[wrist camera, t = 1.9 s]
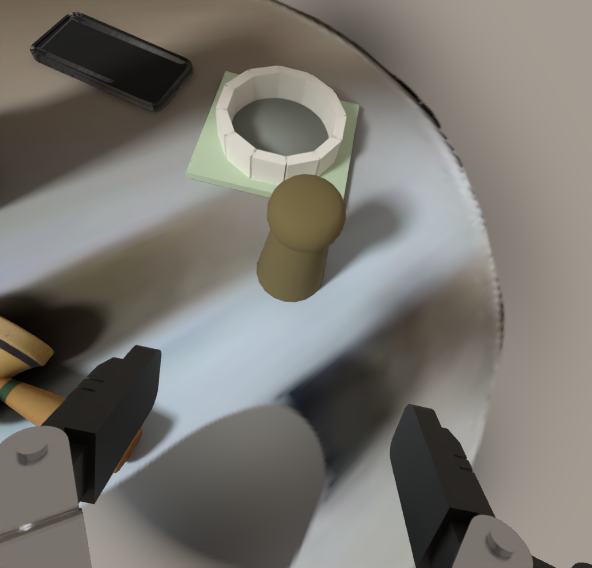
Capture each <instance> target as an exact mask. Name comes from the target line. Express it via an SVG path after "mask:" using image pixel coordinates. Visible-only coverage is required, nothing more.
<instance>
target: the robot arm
mask: <svg viewBox="0 0 592 568" xmlns="http://www.w3.org/2000/svg"><path fill="white" fill-rule="evenodd" d="M160 363H161V351H160V350H158V349H153V348H148V347H144V346H139V345H135V346H134V347H133V348H132V349H131V350H130V352H129V353H128V354H127V355H126V356H125V357H124V358H123V359H120V358H115V357H113V358H111V359H109V360H107V361H106V362H104V363H102V364H100V365H98V366H97V367H96V368H95V369H94V370H93V371H92V372H91V373H90V374H89V375H88V376H87V379H84V380H83V382H82V383H81V384H80V385H79V386H78V388H77V389H75V390H74V391H73V392H72V393H71V394H70V395H69V396H68V397H67V398H66V399H65V400H64V401H63V403H62V404H61V405H60V406H59V407H58V408H57V409H56V410H55V411H54V412H53V413H52V414H51V415H50V416H49V417H48V418H47V419H46V420H45V421H44V422H43V423H42V425H41V426H36V427H31V428H27V429H24V430H21V431H19V432H17V433H15V434H13V435H11V436H9V437H8V438H6V439H5V440H4V441H3V442H2V443H1V444H0V568H92V567H91V560H90V555H89V548H88V541H87V535H86V529H85V523H84V517H83V512H82V509H81V508H79V505H78V504H79V502H80V501H81V502H86V503H91V504H95V502H96V501H97V499H98V497H99V496H100V494H101V492H102V491H103V489H104V487H105V486H106V484H107V482H108V481H109V479H110V477H111V476H112V474H113V472H114V471H115V469H116V467H117V466H118V464H119V462H120V461H121V459H122V457H123V456H124V454H125V452H126V451H127V449H128V447H129V446H130V444H131V442H132V441H133V439H134V437H135V436H136V434H137V432H138V431H139V429H140V427H141V426H142V424H143V422H144V421H145V419H146V418H147V416H148V414H149V413H150V411H151V409H152V407H153V405H154V402H155V399H156V396H157V392H158V384H159V374H160ZM390 460H391V464H392V469H393V473H394V477H395V481H396V486H397V490H398V494H399V498H400V502H401V507H402V511H403V515H404V519H405V524H406V528H407V532H408V536H409V541H410V545H411V549H412V553H413V558H414V562H415V566H416V568H555V567H553V566H551V565H549V564H547V563H545V562H543V561H541V560H539V559H537V558H535V557H534V556H532V555H531V553H530V551H529V549H528V547H527V546H526V544H525V542H524V541H523V540H522V539H521V537H520V536H519V535H518V534H517V533H516V532H515V531H514V530H513V529H512V528H511V527H509V526H508V525H507V524H505V523H503V522H502V521H501V520H499V519H497V518H495V516H494V513H493V511H492V509H491V507H490V505H489V503H488V501H487V499H486V497H485V495H484V492H483V491H482V488H481V486H480V484H479V482H478V480H477V478H476V476H475V474H474V473H473V472H472V467H471V465H470V463H469V461H468V460H467V457H466V455H465V453H464V451H463V448H462V446H461V444H460V442H459V441H458V440H457V439H456V438H455V437H454V436H453V434H452V433H451V432H450V431H449V430H448V429H446V428H442V427H441V425H440V422H439V420H438V418H437V416H436V413H435V411H434V410H433V409H430V408H425V407H421V406H416V405H411V404H408V405H407V406H406V408H405V410H404V412H403V414H402V417H401V419H400V422H399V424H398V426H397V429H396V431H395V434H394V436H393V438H392V441H391V446H390ZM572 568H592V565H591V564H588V563H577V564H575V565H574V566H573V567H572Z"/></svg>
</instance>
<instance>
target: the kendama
mask: <svg viewBox="0 0 592 568" xmlns="http://www.w3.org/2000/svg"><path fill="white" fill-rule="evenodd" d="M53 354H54V351H53V349H52V348H51V347H50V346H48V345H47V344H46V343H44V342H43V341H41V340H40V339H38V338H37V337H36V336H34V335H32V334H31V333H29V332H27V331H26V330H24V329H23V328H21V327H19V326H18V325H16V324H14V323H12V322H10V321H9V320H6V319H5V318H3V317H1V316H0V400H1V401H3V403H5V404H7V405H8V406H9V407H11V408H12V409H13V410H15V411H16V412H18V413H19V414H20V415H22V416H23V417H24V418H26V419H27V420H29V421H30V422H32V423H33V424H35V425H36V426H41V425H42V423H43V422H44V421H45V420H46V419H47V418H48V417H49V416H50V415H51V414H52V413H53V412H54V411H55V410H56V409H57V408H58V407H59V406H60V405H61V404H62V403H63V401H64V400H65V399H66V398H65V397H63V396H60V395H58V394H55V393H52V392H49V391H47V390H44V389H41V388H38V387H35V386H32V385H29V384H26V383H23V382H20V381H17V380H15V379H12V378H11V377H13V376H15V375H17V374H18V373H21V372H23V371H25V370H28V369H31V368H34V367H39V366H44V365H45V364H46V362H47V361H48V360H49V359H50V357H51V356H52V355H53ZM141 434H142V430H141V429H139V431H138V432H137V434H136V436H135V437H134V439H133V441H132V442H131V444H130V446H129V447H128V449H127V451H126V452H125V454H124V456H123V457H122V459H121V461H120V462H119V464H118V466H117V467H116V469H115V471H114V472H113V473H116V472H118V471H119V470H120V469H121V467H122V466H123V465H124V463H125V462H126V460H127V459H128V457H129V456H130V454H131V452H132V450H133V449H134V447H135V446H136V444H137V442H138V441H139V439H140V436H141Z"/></svg>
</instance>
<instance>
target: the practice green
mask: <svg viewBox="0 0 592 568" xmlns="http://www.w3.org/2000/svg"><path fill="white" fill-rule="evenodd" d="M358 111H359V105H357V104H353V103H349V102H346V101H342V100H339V99H338V97H337V95H336V93H335V92H334V90H332V89H331V88H330V87H328V86H327V85H325V84H324V83H323V82H321V81H320V80H319V79H317V78H316V77H315V76H313V75H312V74H310V75H309V73H307V72H303V71H299V70H295V69H291V68H288V67H284V66H280V68H279V66H270V67H262V68H254V69H249V71H248V70H246V71H245V72H243V73H242V74H236V73H232V72H228V71H225V74H224V76H223V79H222V81H221V84H220V86H219V89H218V92H217V94H216V97H215V99H214V102H213V104H212V107H211V109H210V112H209V115H208V117H207V120H206V122H205V125H204V127H203V130H202V133H201V135H200V138H199V140H198V143H197V145H196V148H195V150H194V153H193V156H192V158H191V161H190V163H189V166H188V168H187V171H186V175H187V178H190V179H195V180H199V181H203V182H207V183H211V184H215V185H220V186H224V187H228V188H232V189H236V190H240V191H245V192H249V193H253V194H257V195H261V196H265V197H271V195H272V193H273V191H274V189H275V188H276V187H277V186H278V185H279V184H280V183H281V182H283V181H285V180H287V179H289V178H290V177H293V176H295V175H301V174H310V175H316V176H319V177H322V178H324V179H326V180H327V181H329V182H330V183H332V184H333V185H334V186H335V187H336V189H337V190H338V191H339V192H340V194H341V196H342V198H343V199H344V193H345V187H346V181H347V175H348V170H349V164H350V158H351V152H352V146H353V140H354V134H355V129H356V123H357V117H358Z"/></svg>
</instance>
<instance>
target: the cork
mask: <svg viewBox="0 0 592 568" xmlns="http://www.w3.org/2000/svg"><path fill="white" fill-rule="evenodd" d="M345 219H346V212H345V203H344V201H343V198H342V196H341V194H340V192H339V191H338V190H337V189H336V187H335V186H334V185H333V184H332V183H330V182H329V181H327V180H326V179H324V178H322V177H319V176H316V175H310V174H301V175H295V176H293V177H290V178H289V179H287V180H285V181H283V182H281V183H280V184H279V185H278V186H277V187H276V188H275V189H274V191H273V193H272V195H271V197H270V200H269V202H268V211H267V220H268V223H269V226H270V229H271V230H270V232H269V235H268V237H267V240H266V242H265V245H264V247H263V250H262V252H261V255H260V257H259V260H258V263H257V276H258V279H259V283H260V284H261V285H262V287H263V288H264V290H265V291H266V292H267V293H269V294H270V295H271V296H273V297H274V298H276V299H279V300H282V301H285V302H297V301H301V300H305V299H307V298H309V297H310V296H312V295H313V294H315V292H316V291H317V290H318V289H319V287H320V286H321V283H322V280H323V277H324V271H325V265H326V259H327V253H328V247H329V245H330V244H332V243H333V242H334V241H335V239H336V238H337V237H338V236H339V235H340V233H341V231H342V229H343V226H344V223H345Z"/></svg>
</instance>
